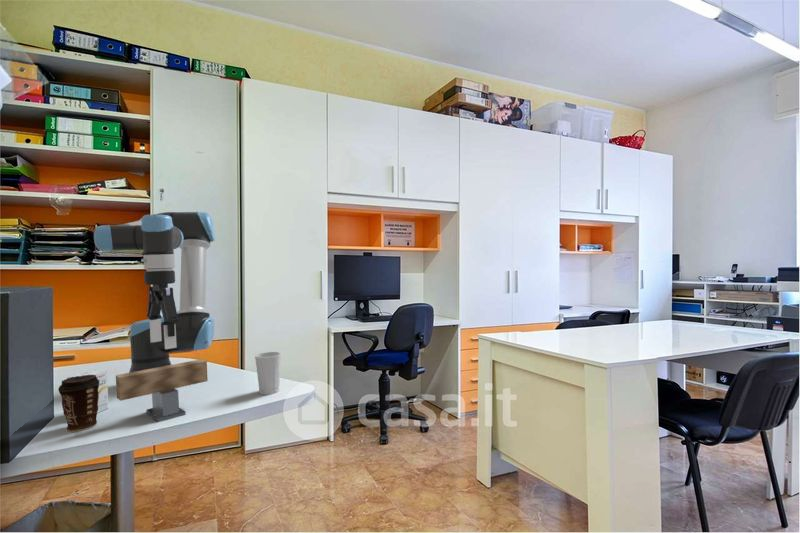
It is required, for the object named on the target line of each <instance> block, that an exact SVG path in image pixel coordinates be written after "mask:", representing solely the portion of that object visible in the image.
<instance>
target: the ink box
mask: <svg viewBox="0 0 800 533" xmlns="http://www.w3.org/2000/svg"><path fill="white" fill-rule="evenodd" d="M83 375H96V377H97V379H98V380H99V388H98V393H99V399H98V411H97V414H99V413H101V412H103V411H106V410H107V409H109V389H108V370H106V369H91V370H87V371H83V372H78V373H77V374H73V375H70V376H69V375H68V377H66V379H69V378H71V377H76V376H83Z"/></svg>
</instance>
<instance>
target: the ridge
mask: <svg viewBox="0 0 800 533" xmlns="http://www.w3.org/2000/svg"><path fill="white" fill-rule="evenodd" d="M151 401H152V407H151V408H148V409H146V411H145V412H146V414H147V415H148V416H150V417H151V418H153V420H154V421H156V422H157V423H159V422H164V421H167V420H171V419H175V418H178V417H182V416H185V415H186V414H187V413H186V412H187V411H185V410H184V409H182V408H181V407H180V402H179V390H178V389H177V388H175V389H170V390H166V391H162V392H157V393H153V394H151Z"/></svg>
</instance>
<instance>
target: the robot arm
mask: <svg viewBox="0 0 800 533" xmlns="http://www.w3.org/2000/svg"><path fill="white" fill-rule="evenodd" d="M215 239H216V235H215V228H214V224H213V220H212V216H211V214H210V213H208V212H205V211H204V212H202V211H201V212H200V211H177V212H175V211H173V212H172V211H166V212H160V213H154V214H144V215H143V216H142V217H141V218H140V219H139V220H135V221H132V222H127V223H123V224H122V223H121V224H116V225H114V224H113V225H112V224H111V225H110V224H107V225H106V224H105V225H99V226H98V225H97V227H96V228H95V229H94V232H93V240H94V241H93V242H94V244H95V245H94V246H95V247H96V249H98V250H99V251H101V252H118V251H119V252H121V251H125V252H126V251H142V255H143V256H142V258H141V261H140V262H142V263H143V269H144V270H146V271H144V273H143V280H144V282H143V283H144V284H145V285H147V286H148V285H149V287H148V300H147V309H146V310H147V313H146V317H147V319H142V320H139V321H135V322H133V323H132V324H131V325H130V327H129V328H130V332H129V333H130V335H129V339H130V356H131V357H130V358H131V362H130V363H131V365H130V369H129V372H128V373H131V372H136V371H141V370H147V369H152V368H157V367H163V366H168V365H173V364H172V362H171V361H170V360H171V359H170V354H171V353H180V352H192V351H193V352H198V351H202V350H207V349H208V348H209V347H210V346H211V344H212V342H213V339H214V333H215V319H214V317H211V316H210V315H211V314H210V312H209V311H208V310H206V287H207V286H206V282H207V281H206V276H207V273H206V271H207V270H206V269H207V250H208V249H209V248H210V247H211V243H212V242H215ZM178 248H179V249H181V250H180V253H181V254H180V281H179V282H180V287H179V289H180V290H179V310H178V311H177V307H176V302H175V297H174V288H173V287H169V284H175V282H176V271H175V270H173V269H175V266H176V264H175V262H176V260H175V253H174V252H175V251H174V250H176V249H178ZM161 314H162V315H161Z"/></svg>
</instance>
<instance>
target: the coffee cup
mask: <svg viewBox="0 0 800 533" xmlns="http://www.w3.org/2000/svg"><path fill="white" fill-rule="evenodd" d="M98 388H99V380H98V379H97V377H96V375H83V376H76V377H71V378H69V379H67V378H66V379H64V380H62V381H61V384H60V385H59V387H58V393H59V394H60V396H61V406H62V407H61V408H62V411H63V414H62V415H64V417H65V421H66V424H67V426H66V430H67V431H66V430H65V431H66V432H68V431H69V433H78V432H82V431H85V430H89V429H91V428H93V427H94V426H96V425H98V424H97V423H98V420H97V415H98V413H97V411H98V399H99V393H98Z"/></svg>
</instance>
